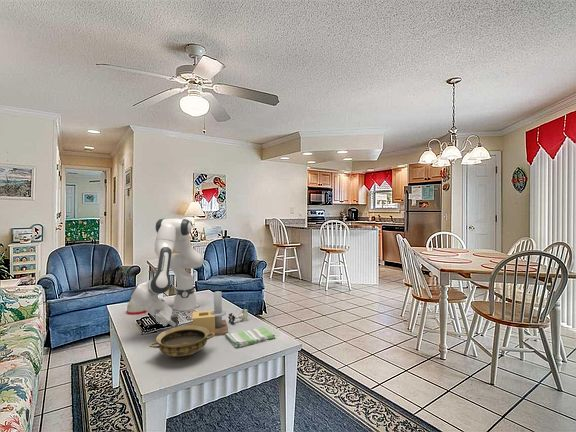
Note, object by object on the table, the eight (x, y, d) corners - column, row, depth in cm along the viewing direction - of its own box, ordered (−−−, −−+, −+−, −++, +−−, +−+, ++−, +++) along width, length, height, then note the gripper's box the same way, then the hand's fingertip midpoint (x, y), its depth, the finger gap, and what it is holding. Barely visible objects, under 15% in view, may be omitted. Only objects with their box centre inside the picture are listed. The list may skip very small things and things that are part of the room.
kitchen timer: (129, 316, 204) (128, 293, 204) (124, 310, 215) (124, 289, 215) (151, 311, 213) (151, 290, 212) (146, 306, 224) (145, 286, 223)
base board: (186, 325, 186) (186, 323, 186) (225, 321, 193) (225, 319, 193) (185, 339, 167) (185, 336, 167) (228, 334, 174) (228, 331, 174)
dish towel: (224, 337, 170) (224, 331, 170) (262, 329, 182) (262, 323, 182) (235, 350, 156) (235, 343, 155) (276, 339, 167) (276, 333, 167)
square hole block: (193, 325, 184) (192, 291, 183) (225, 321, 189) (224, 289, 188) (192, 332, 172) (192, 297, 172) (226, 329, 177) (226, 294, 177)
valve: (244, 318, 199) (228, 322, 192) (244, 307, 199) (228, 312, 192) (250, 320, 194) (233, 325, 187) (250, 310, 194) (233, 314, 186)
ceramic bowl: (211, 339, 167) (211, 321, 166) (219, 359, 145) (219, 338, 144) (150, 349, 155) (149, 330, 155) (148, 373, 133) (148, 350, 133)
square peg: (171, 332, 176) (171, 315, 176) (178, 332, 177) (178, 314, 177) (171, 335, 173) (170, 317, 173) (177, 334, 174) (177, 316, 174)
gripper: (158, 309, 163) (178, 325, 166) (162, 298, 182) (180, 313, 185) (149, 318, 162) (169, 334, 165) (154, 306, 181) (172, 321, 184)
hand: (175, 323), depth 175 cm, fingers open, 5 cm apart
